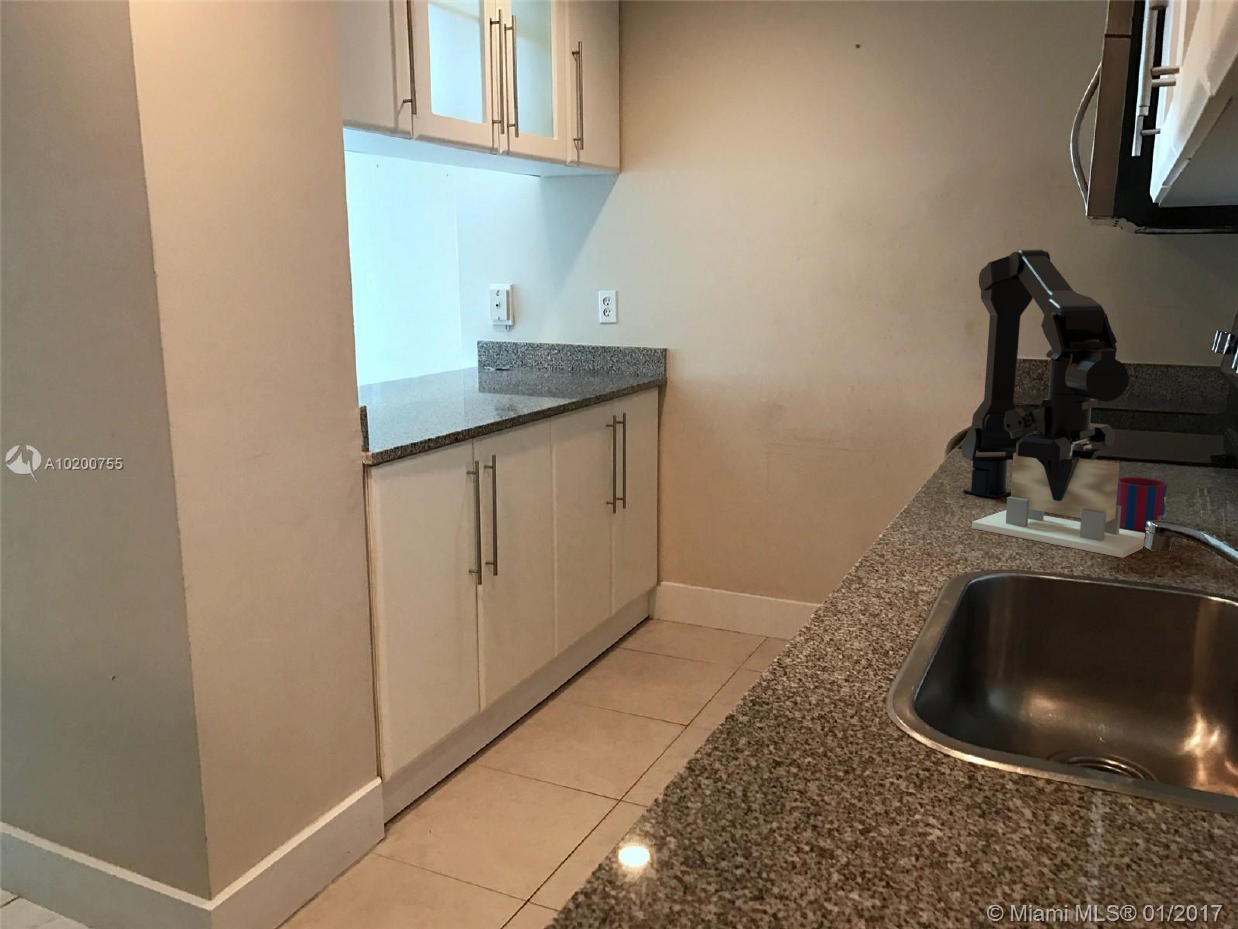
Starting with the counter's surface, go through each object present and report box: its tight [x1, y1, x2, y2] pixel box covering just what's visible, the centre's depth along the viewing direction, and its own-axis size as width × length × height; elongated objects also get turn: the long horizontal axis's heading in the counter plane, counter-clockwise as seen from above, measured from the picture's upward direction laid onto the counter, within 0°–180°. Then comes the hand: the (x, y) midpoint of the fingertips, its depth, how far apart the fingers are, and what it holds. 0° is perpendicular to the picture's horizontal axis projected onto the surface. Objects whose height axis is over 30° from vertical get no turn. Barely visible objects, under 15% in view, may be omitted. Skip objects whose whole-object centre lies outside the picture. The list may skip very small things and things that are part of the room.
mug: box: [1116, 476, 1168, 532], centre depth 146 cm, size 7×10×7 cm
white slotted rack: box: [971, 496, 1146, 559], centre depth 141 cm, size 11×22×5 cm, turn 41°
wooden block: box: [1010, 453, 1120, 522], centre depth 140 cm, size 14×4×8 cm, turn 41°
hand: (1062, 498), depth 140 cm, fingers closed on wooden block, 3 cm apart
